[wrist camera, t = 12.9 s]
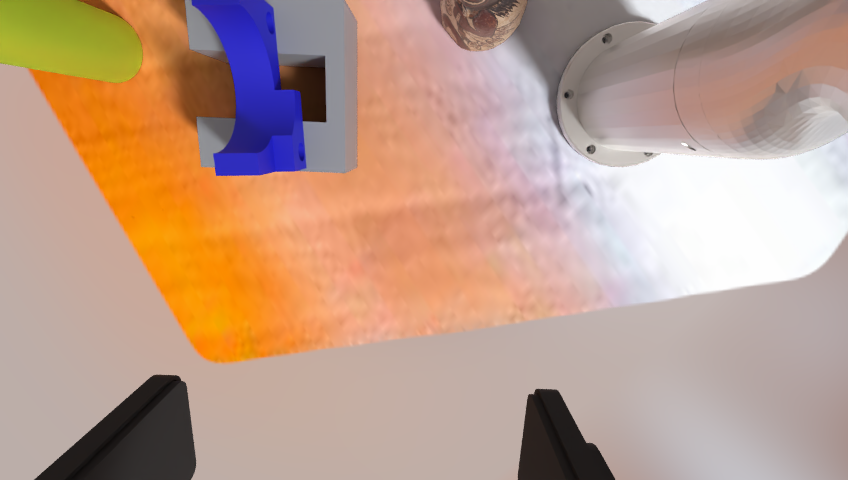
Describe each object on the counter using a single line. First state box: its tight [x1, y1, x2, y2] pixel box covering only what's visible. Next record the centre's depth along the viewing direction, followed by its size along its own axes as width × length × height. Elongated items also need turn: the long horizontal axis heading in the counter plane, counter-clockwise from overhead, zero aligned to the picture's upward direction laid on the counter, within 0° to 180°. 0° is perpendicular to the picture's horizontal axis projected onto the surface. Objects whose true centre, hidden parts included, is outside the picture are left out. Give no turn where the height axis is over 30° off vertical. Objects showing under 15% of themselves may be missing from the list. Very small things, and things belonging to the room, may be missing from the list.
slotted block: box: [185, 0, 357, 173], centre depth 34 cm, size 12×13×6 cm
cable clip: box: [191, 0, 307, 176], centre depth 29 cm, size 12×4×6 cm, turn 0°
